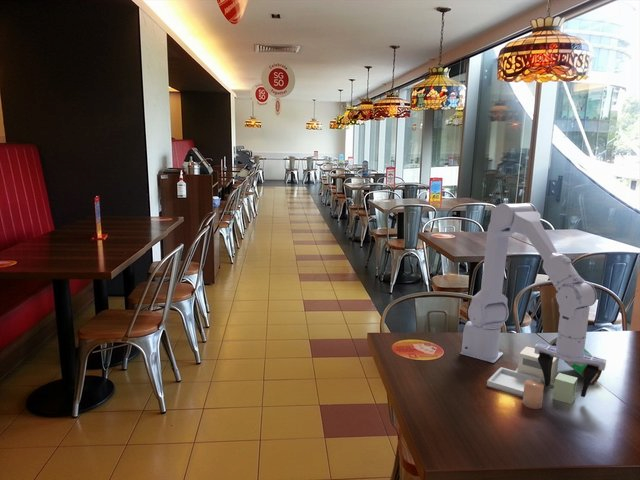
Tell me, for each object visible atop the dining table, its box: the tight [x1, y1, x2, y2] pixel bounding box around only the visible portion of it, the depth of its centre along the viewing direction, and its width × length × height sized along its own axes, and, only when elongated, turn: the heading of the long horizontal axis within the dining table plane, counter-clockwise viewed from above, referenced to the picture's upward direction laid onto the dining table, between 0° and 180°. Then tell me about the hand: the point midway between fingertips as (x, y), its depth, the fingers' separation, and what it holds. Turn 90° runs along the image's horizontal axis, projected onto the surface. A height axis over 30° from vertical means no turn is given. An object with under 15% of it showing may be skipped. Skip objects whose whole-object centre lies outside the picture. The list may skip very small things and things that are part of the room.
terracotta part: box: [522, 380, 545, 410], centre depth 111 cm, size 4×4×5 cm
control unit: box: [514, 346, 560, 389], centre depth 125 cm, size 10×8×6 cm
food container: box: [548, 337, 603, 386], centre depth 125 cm, size 12×6×10 cm
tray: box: [486, 366, 542, 398], centre depth 120 cm, size 10×10×1 cm
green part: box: [552, 372, 579, 405], centre depth 114 cm, size 4×4×5 cm
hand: (565, 389), depth 114 cm, fingers open, 7 cm apart
